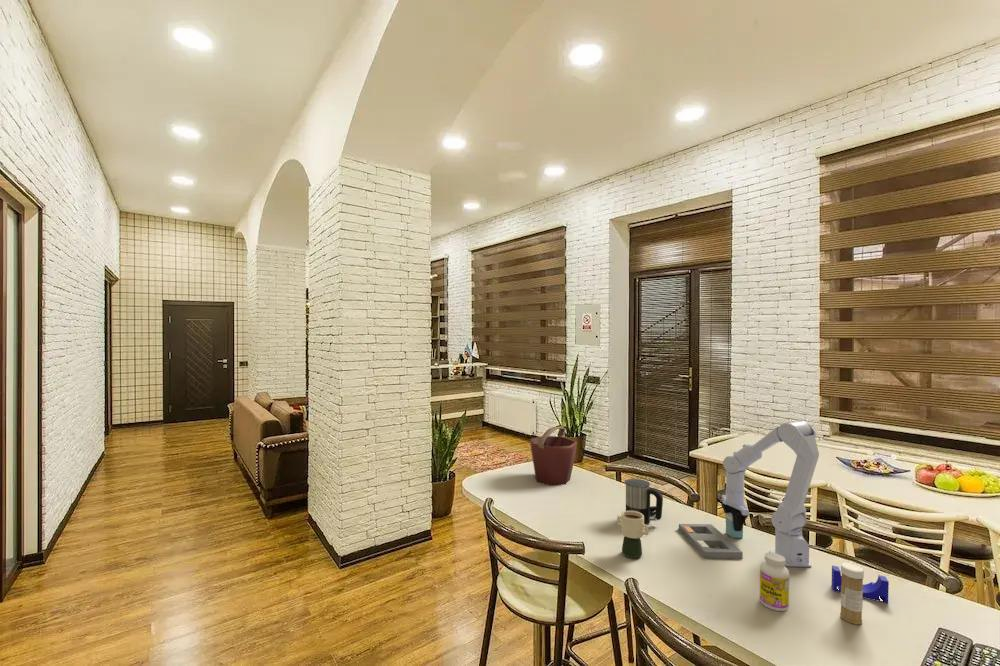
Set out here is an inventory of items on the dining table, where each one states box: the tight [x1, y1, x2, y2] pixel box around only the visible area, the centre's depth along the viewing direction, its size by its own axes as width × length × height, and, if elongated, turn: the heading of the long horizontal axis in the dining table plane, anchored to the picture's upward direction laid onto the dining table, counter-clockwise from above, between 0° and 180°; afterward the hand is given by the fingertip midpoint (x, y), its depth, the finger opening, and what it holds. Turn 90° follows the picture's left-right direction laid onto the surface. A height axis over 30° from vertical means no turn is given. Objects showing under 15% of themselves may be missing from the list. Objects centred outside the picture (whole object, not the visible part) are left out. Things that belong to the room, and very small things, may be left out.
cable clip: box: [831, 565, 890, 604], centre depth 127 cm, size 12×4×6 cm, turn 63°
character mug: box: [616, 510, 649, 558], centre depth 146 cm, size 11×7×13 cm, turn 45°
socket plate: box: [678, 523, 744, 559], centre depth 156 cm, size 21×12×2 cm, turn 1°
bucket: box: [529, 426, 578, 486], centre depth 219 cm, size 24×22×25 cm
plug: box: [724, 512, 744, 539], centre depth 162 cm, size 5×5×7 cm
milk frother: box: [624, 478, 664, 526], centre depth 176 cm, size 14×16×15 cm
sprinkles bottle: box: [839, 562, 865, 625], centre depth 115 cm, size 5×5×14 cm
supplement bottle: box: [758, 552, 790, 612], centre depth 121 cm, size 7×7×13 cm
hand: (734, 527), depth 162 cm, fingers closed on plug, 4 cm apart
